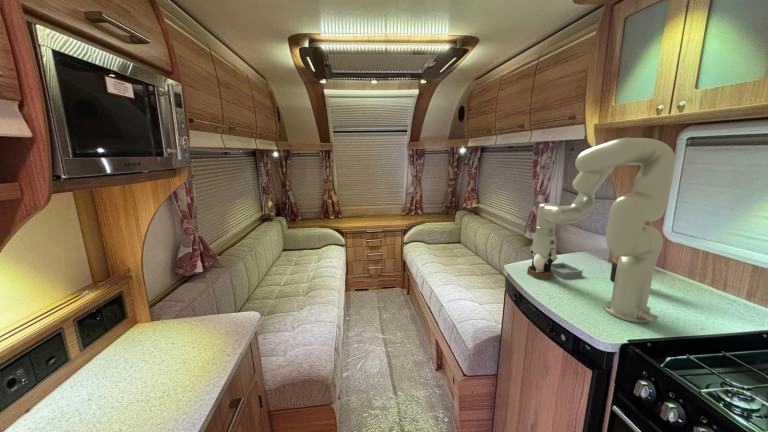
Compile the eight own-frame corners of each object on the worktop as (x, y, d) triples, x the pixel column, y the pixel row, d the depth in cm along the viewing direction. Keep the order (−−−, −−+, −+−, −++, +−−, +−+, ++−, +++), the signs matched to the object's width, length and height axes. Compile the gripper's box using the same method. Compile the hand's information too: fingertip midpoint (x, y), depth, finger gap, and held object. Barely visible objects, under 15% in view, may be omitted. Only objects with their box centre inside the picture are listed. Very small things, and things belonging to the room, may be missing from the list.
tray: (581, 276, 135) (582, 270, 134) (561, 278, 133) (562, 272, 132) (562, 267, 145) (563, 262, 145) (543, 269, 143) (544, 264, 143)
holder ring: (558, 278, 133) (559, 273, 132) (538, 280, 130) (539, 274, 130) (541, 269, 143) (542, 264, 142) (522, 271, 140) (523, 266, 140)
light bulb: (551, 276, 135) (554, 253, 133) (541, 278, 132) (544, 255, 130) (538, 270, 141) (540, 249, 139) (528, 273, 138) (531, 250, 136)
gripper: (567, 235, 125) (562, 275, 128) (538, 226, 141) (534, 261, 145) (552, 236, 123) (547, 276, 127) (524, 226, 140) (521, 262, 143)
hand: (540, 268), depth 136 cm, fingers closed on light bulb, 6 cm apart
